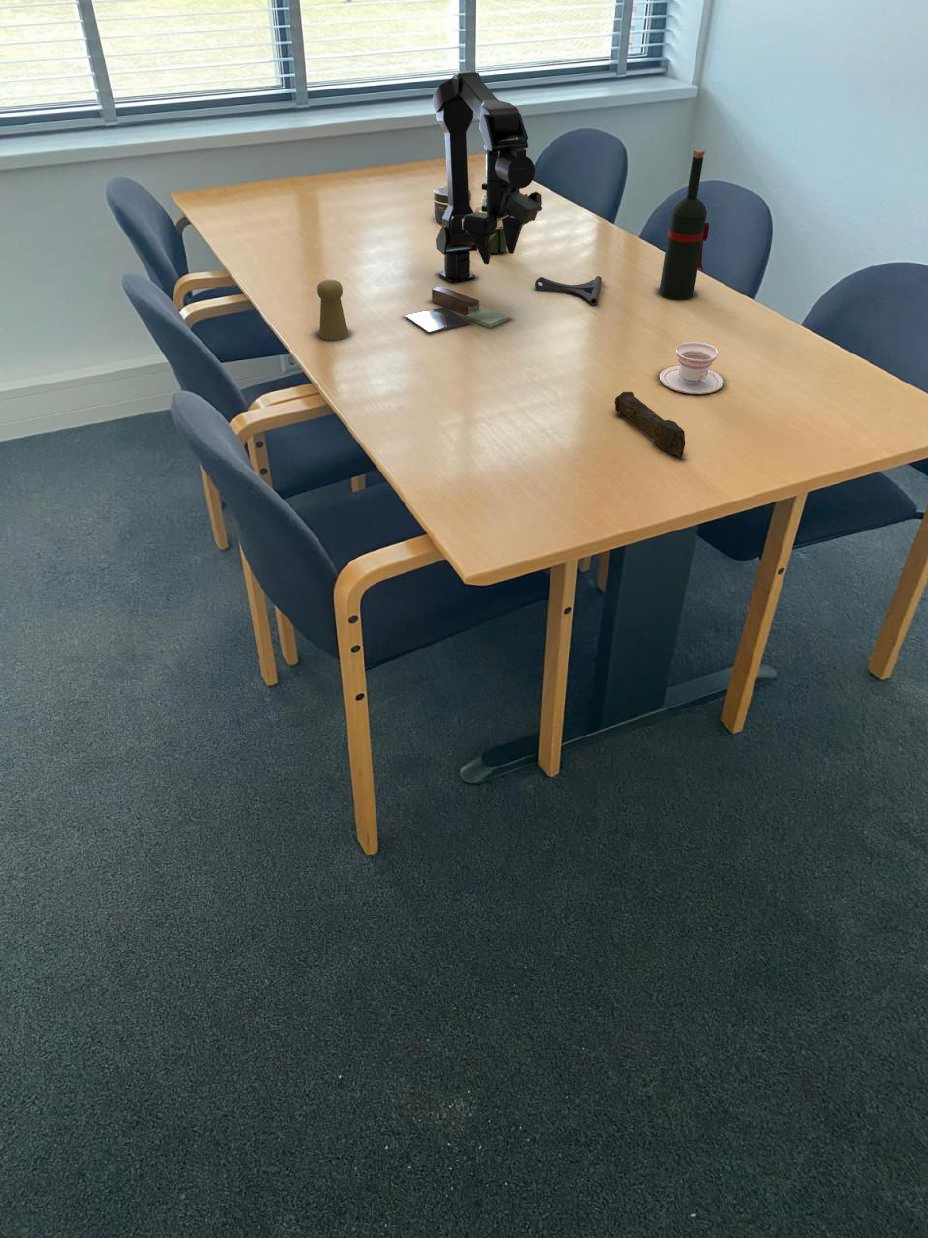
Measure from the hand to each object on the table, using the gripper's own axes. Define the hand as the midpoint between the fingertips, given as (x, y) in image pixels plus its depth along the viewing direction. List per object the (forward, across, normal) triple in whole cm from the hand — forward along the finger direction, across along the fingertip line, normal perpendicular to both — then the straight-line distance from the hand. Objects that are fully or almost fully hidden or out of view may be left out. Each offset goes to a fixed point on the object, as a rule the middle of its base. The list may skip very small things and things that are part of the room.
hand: (499, 258), depth 193 cm
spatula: (+12, -3, +6) cm, 14 cm away
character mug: (+10, +34, +24) cm, 43 cm away
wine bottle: (+12, +36, -26) cm, 46 cm away
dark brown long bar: (+15, -28, -52) cm, 61 cm away
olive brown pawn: (+12, -30, +22) cm, 38 cm away
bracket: (+12, +21, -5) cm, 25 cm away
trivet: (+12, -11, +8) cm, 18 cm away
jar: (+9, +48, +48) cm, 68 cm away
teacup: (+14, -5, -48) cm, 50 cm away
